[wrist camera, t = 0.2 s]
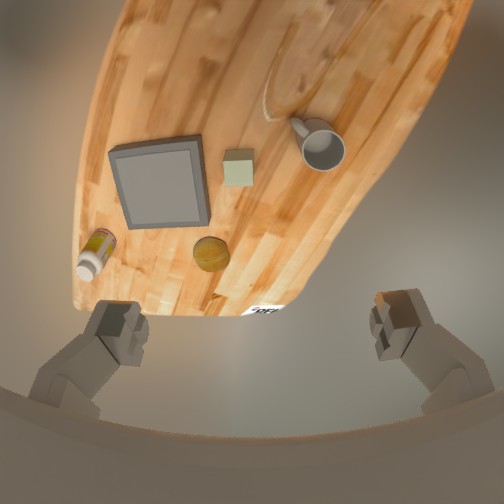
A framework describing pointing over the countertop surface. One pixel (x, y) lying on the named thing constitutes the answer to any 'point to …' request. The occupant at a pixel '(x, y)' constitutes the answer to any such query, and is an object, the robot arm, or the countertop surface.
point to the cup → (318, 144)
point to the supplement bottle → (95, 254)
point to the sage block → (239, 168)
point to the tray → (162, 183)
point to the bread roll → (211, 254)
